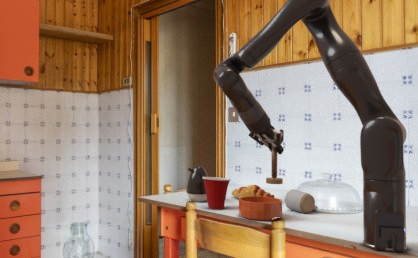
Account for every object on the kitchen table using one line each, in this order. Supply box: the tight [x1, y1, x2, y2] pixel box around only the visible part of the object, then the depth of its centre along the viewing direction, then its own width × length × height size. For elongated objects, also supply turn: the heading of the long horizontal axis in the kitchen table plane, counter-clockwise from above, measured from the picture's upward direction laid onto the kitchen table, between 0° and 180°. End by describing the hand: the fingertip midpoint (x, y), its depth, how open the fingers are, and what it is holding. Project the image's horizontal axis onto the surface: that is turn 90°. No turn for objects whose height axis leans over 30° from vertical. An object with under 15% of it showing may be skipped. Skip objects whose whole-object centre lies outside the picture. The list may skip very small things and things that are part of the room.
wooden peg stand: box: [265, 140, 284, 185], centre depth 135 cm, size 5×5×14 cm
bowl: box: [238, 196, 283, 222], centre depth 139 cm, size 14×14×6 cm
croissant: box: [231, 184, 275, 200], centre depth 174 cm, size 21×10×8 cm, turn 40°
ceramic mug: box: [284, 189, 318, 214], centre depth 148 cm, size 11×8×8 cm
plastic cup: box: [203, 176, 231, 210], centre depth 156 cm, size 11×11×12 cm
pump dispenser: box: [185, 165, 209, 203], centre depth 172 cm, size 10×10×15 cm
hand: (278, 152), depth 136 cm, fingers closed on wooden peg stand
